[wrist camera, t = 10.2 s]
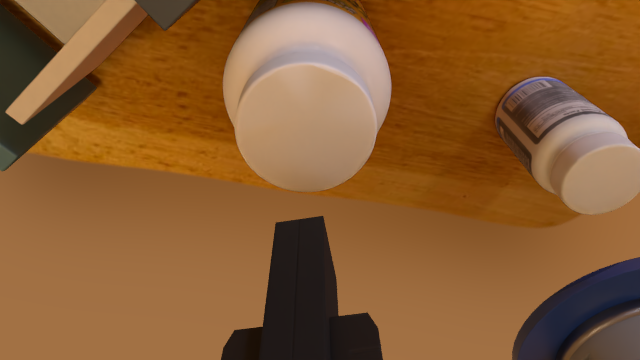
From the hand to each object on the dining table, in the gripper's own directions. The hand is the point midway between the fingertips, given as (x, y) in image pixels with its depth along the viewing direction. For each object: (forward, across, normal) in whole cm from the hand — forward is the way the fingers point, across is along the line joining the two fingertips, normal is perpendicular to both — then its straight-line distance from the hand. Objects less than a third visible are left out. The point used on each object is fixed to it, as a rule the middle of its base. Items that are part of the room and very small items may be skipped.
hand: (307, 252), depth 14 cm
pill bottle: (+15, +13, -4) cm, 21 cm away
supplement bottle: (+15, 0, +3) cm, 15 cm away
